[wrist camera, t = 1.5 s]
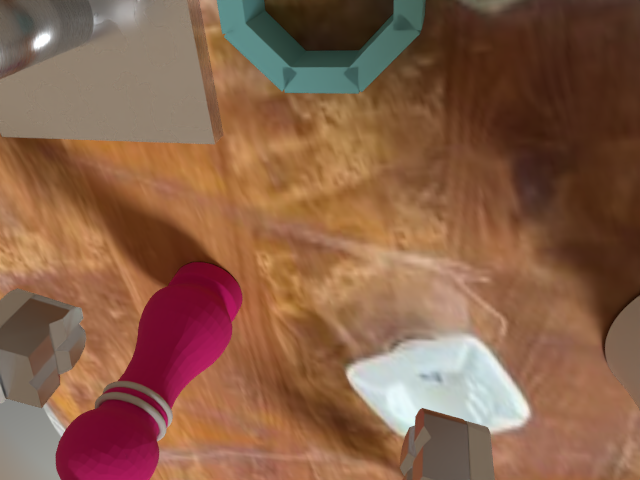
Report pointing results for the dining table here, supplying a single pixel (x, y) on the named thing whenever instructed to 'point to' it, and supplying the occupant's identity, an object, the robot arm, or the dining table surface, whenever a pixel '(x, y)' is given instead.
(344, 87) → the ring
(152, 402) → the pepper mill
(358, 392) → the dining table surface
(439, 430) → the robot arm
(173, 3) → the post stand
